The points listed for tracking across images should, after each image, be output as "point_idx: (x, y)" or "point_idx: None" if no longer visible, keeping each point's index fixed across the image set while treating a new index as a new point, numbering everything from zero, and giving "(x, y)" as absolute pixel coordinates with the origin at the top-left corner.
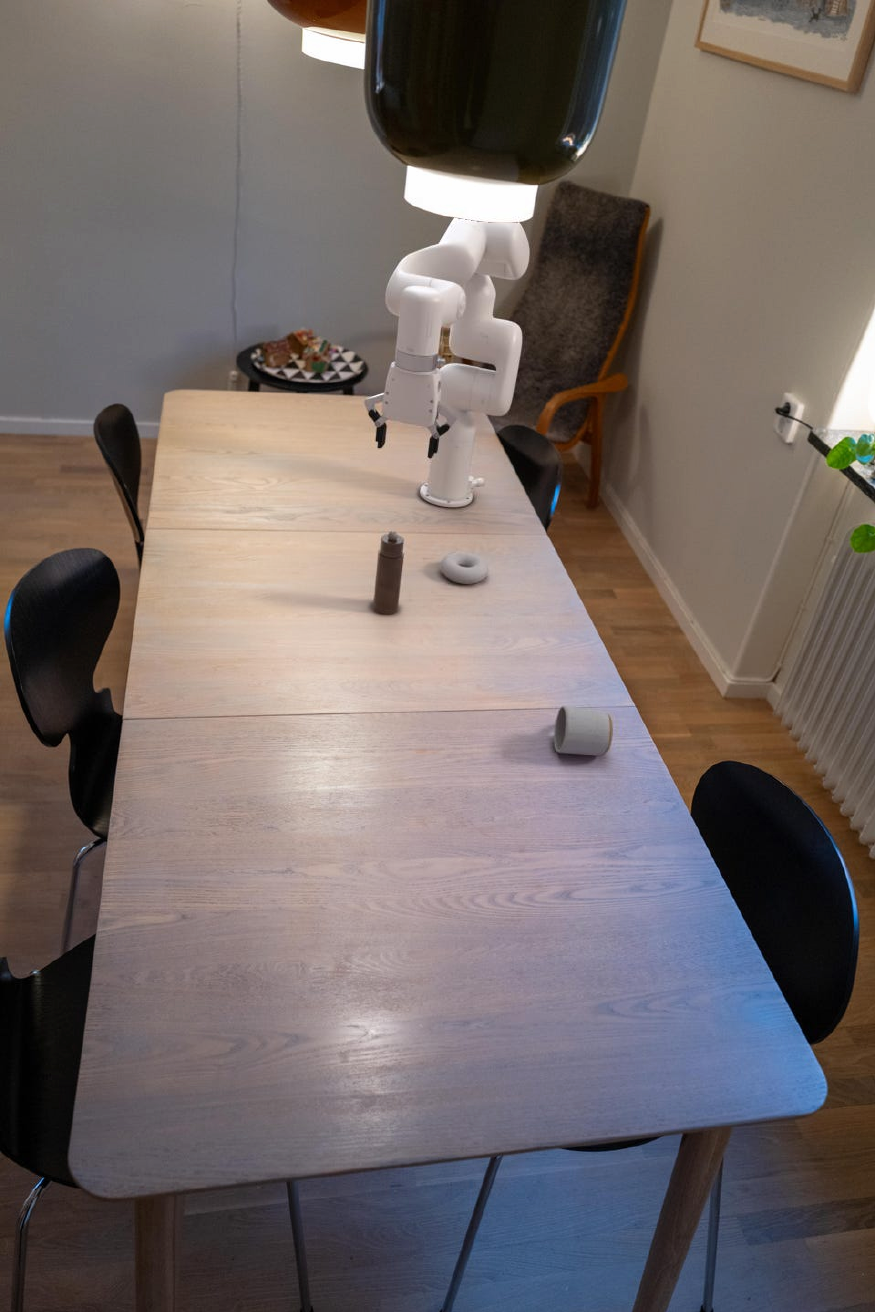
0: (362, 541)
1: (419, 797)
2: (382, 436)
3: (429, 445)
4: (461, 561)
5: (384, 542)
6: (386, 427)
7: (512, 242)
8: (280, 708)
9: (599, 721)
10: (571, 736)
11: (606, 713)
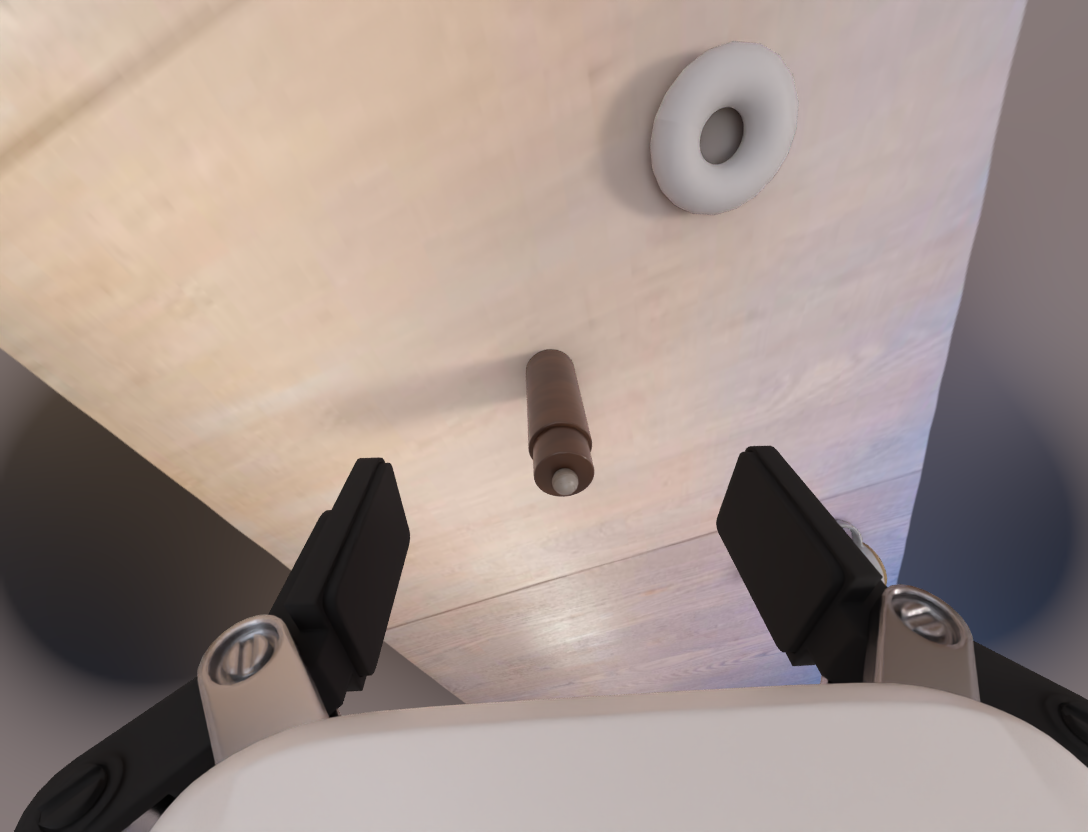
0: (373, 32)
1: (653, 627)
2: (389, 611)
3: (757, 601)
4: (716, 110)
5: (548, 493)
6: (347, 577)
7: None
8: (493, 589)
9: None
10: None
11: (884, 579)
